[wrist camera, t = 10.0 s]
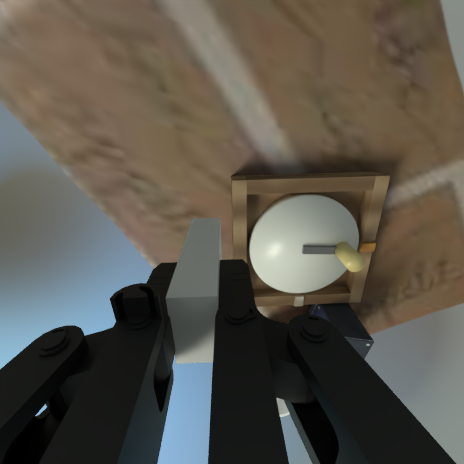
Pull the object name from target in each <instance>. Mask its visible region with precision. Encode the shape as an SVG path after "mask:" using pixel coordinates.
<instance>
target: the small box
mask: <svg viewBox="0 0 464 464" xmlns="http://www.w3.org/2000/svg"><path fill="white" fill-rule="evenodd" d="M307 314H311V315H316V316H320V317H322V318H324V319H326V320H328V321H329V322H330V323H331V324H333V325H334V326H335V327H336V328H337V329H338V331H339V332H340V333H341V334H342V335H343V336H344V337H345V338H346V340H347V341H348V342H349V343H350V344H351V345H352V346H353V347H354V349H355V350H356V351H357V352H358V353H359V354H360V355H361V357H362V358H363V359H365V357H366V355H367V353H368V351H369V350H370V348H371V346H372V344H373V343H374V340H373V339H372V338H371V336H370V335H369V333H368V332H367V330H366V329H365V327H364V326H363V325H362V323H361V322H360V320H359V319H358V317H357V316H356V314H355V313H354V311H353V310H352V308H351V307H350V305H349V304H348V303H329V304H311V305H310V308H309V310H308V313H307Z"/></svg>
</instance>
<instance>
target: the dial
mask: <svg viewBox="0 0 464 464" xmlns="http://www.w3.org/2000/svg"><path fill="white" fill-rule="evenodd" d="M358 243H359V233H358V228H357V224H356V222H355V220H354V218H353V216H352V215H351V213H350V212H349V211H348V210H347V209H346V208H345V207H344V206H342V205H341V204H340V203H338V202H337V201H335V200H334V199H332V198H330V197H328V196H325V195H323V194H318V193H311V192H307V193H296V194H292V195H288V196H286V197H283V198H281V199H279V200H277V201H276V202H274V203H272V204H271V205H270V206H269V207H267V208H266V209H265V210H264V211H263V212H262V213H261V214H260V216H259V217H258V218H257V220H256V222H255V223H254V225H253V228H252V230H251V233H250V237H249V253H250V258H251V262H252V265H253V268H254V270H255V272H256V273H257V275H258V276H259V277H260V278H261V279H262V280H263V281H264V282H265V283H266V284H267V285H269V286H271V287H272V288H275V289H277V290H280V291H283V292H288V293H306V292H311V291H315V290H318V289H321V288H323V287H325V286H327V285H329V284H331V283H332V282H334V281H335V280H336V279H338V278H339V277H340V276H341V275H342V274H343V273H344V272H345V271H346V270H347V269H348V270H349V271H351V272H358V271H360V270H362V269H363V268H364V266H365V263H366V261H365V259H364V258H363V257H362V256H361V255H360V254H359V253H358V252H357V249H358Z"/></svg>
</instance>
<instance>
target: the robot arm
mask: <svg viewBox="0 0 464 464" xmlns="http://www.w3.org/2000/svg"><path fill="white" fill-rule="evenodd" d="M110 301H111V305H112V308H113V312H114V315H115V319H116V323H115V325H114V327H113V328H110V329H107V330H104V331H101V332H97V333H93V334H90V335H86V336H84V333H83V331H82V329H81V328H79V327H77V326H63V327H59V328H55V329H53V330H51V331H49V332H47V333H45V334H43V335H42V336H40V337H39V338H37V339H36V340H34V341H33V342H32V343H31V344H30V345H28V346H27V347H26V348H25V349H24V350H23V351H21V352H20V353H19V354H18V355H17V356H16V357H14V358H13V359H12V360H11V361H10V362H9V363H7V364H6V365H5V366H4V367H3V368H2V369H0V464H157V462H158V456H159V451H160V447H161V441H162V436H163V431H164V426H165V421H166V416H167V410H168V405H169V400H170V395H171V390H172V385H173V369H172V364H173V360H174V355H175V358H176V363H177V364H180V363H201V362H213V373H212V374H213V376H212V394H211V415H210V436H209V457H208V464H289V462H288V456H287V451H286V447H285V441H284V436H283V431H282V426H281V420H280V415H279V410H278V404H277V399H276V398H279V399H283V400H284V402H285V404H286V406H287V409H288V411H289V413H290V415H291V417H292V420H293V422H294V424H295V426H296V428H297V430H298V433H299V435H300V437H301V439H302V442H303V444H304V446H305V448H306V450H307V452H308V454H309V457H310V459H311V461H312V463H313V464H456V463H455V462H454V461H453V459H452V458H451V457H450V456H449V455H448V454H447V453H446V452H445V451H444V449H443V448H442V447H441V446H440V445H439V444H438V443H437V441H436V440H435V439H434V438H433V437H432V436H431V435H430V433H429V432H428V431H427V430H426V429H425V428H424V427H423V426H422V424H421V423H420V422H419V421H418V420H417V419H416V418H415V416H414V415H413V414H412V413H411V412H410V411H409V410H408V409H407V407H406V406H405V405H404V404H403V403H402V402H401V401H400V399H399V398H397V396H396V395H395V394H394V393H393V392H392V390H391V389H390V388H389V387H388V386H387V385H386V384H385V383H384V381H383V380H382V379H381V378H380V377H379V376H378V375H377V373H376V372H375V371H374V370H373V369H372V368H371V367H370V366H369V364H368V363H367V362H366V361H365V360H364V359H363V358H362V357H361V355H360V354H359V353H358V352H357V351H356V350H355V349H354V347H353V346H352V345H351V344H350V343H349V342H348V341H347V340H346V338H345V337H344V336H343V335H342V334H341V333H340V332H339V331H338V329H337V328H336V327H335V326H334V325H333V324H331V323H330V322H329V321H328V320H326V319H324V318H322V317H320V316H316V315H311V314H304V315H299V316H296V317H294V318H293V319H292V320H291V321H290V322H289V324H286V323H281V322H277V321H273V320H270V319H268V318H266V317H265V316H263V315H262V314H261V313H260V312H259V311H258V309H257V307H256V304H255V298H254V293H253V287H252V282H251V276H250V271H249V265H248V264H247V263H246V262H245V261H244V260H243V259H232V260H222V247H221V226H220V218H199V219H192V221H191V224H190V227H189V230H188V233H187V236H186V239H185V242H184V245H183V248H182V251H181V254H180V257H179V260H178V262H175V263H161V264H159V265H158V266H157V267H156V268H155V269H153V271H152V273H151V275H150V277H149V279H148V281H147V283H146V284H143V283H140V284H133V285H130V286H127V287H124V288H122V289H121V290H119V291H117V292H116V293H115V294H114V295H113V296H112V297H111V298H110ZM45 404H46V405H47V408H46V409H45V410H44V411H43V412H42V413H41V414H40V415H38V416H35V415H36V414H37V413H38V412H39V410H40V409H41V408H42V407H43V406H44V405H45Z"/></svg>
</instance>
